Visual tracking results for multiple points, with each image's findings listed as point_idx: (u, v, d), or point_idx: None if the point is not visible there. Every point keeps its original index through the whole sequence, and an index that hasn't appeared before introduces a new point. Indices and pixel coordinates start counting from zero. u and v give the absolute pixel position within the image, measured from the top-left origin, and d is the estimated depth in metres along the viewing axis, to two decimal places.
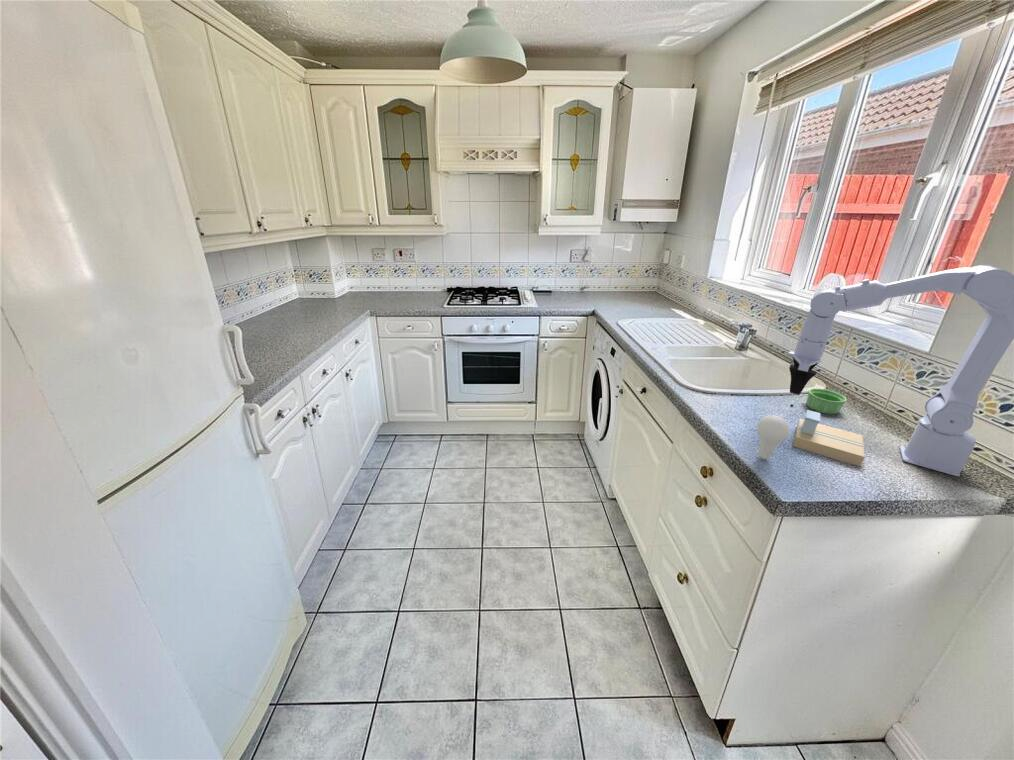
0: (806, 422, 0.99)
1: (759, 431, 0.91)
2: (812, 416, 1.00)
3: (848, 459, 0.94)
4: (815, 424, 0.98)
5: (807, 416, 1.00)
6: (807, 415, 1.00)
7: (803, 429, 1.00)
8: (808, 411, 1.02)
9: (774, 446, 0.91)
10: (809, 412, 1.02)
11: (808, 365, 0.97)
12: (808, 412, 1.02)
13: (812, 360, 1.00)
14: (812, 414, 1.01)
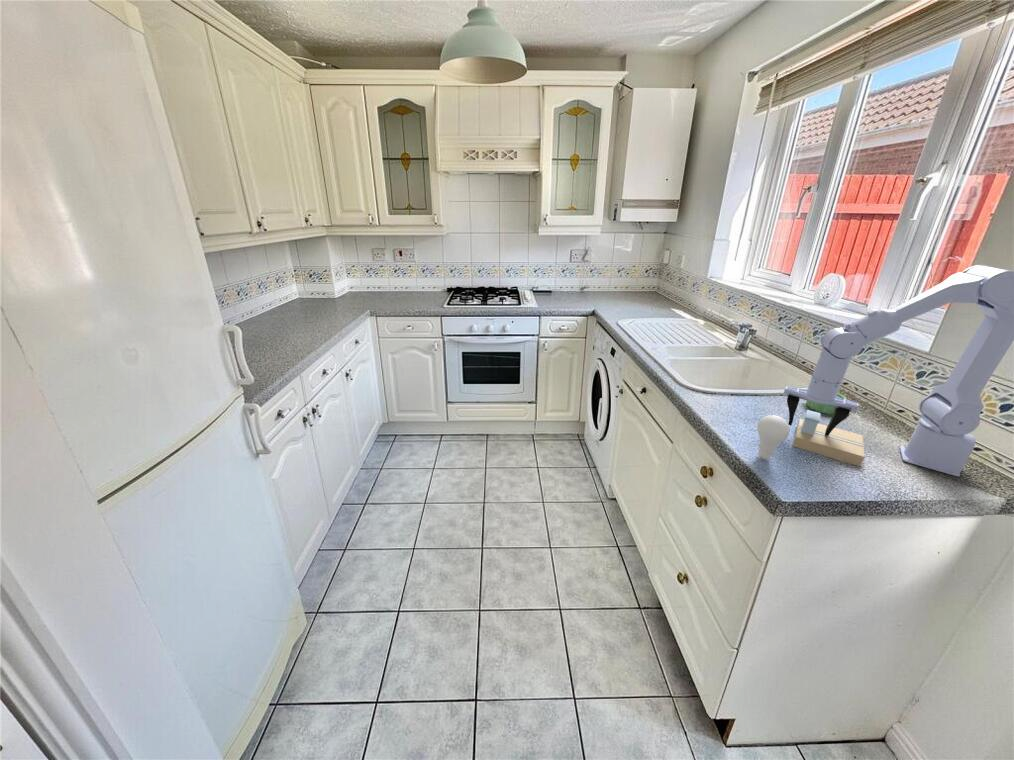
0: (806, 422, 0.99)
1: (759, 431, 0.91)
2: (812, 416, 1.00)
3: (848, 459, 0.94)
4: (815, 424, 0.98)
5: (807, 416, 1.00)
6: (807, 415, 1.00)
7: (803, 429, 1.00)
8: (808, 411, 1.02)
9: (774, 446, 0.91)
10: (809, 412, 1.02)
11: None
12: (808, 412, 1.02)
13: (806, 394, 0.99)
14: (812, 414, 1.01)
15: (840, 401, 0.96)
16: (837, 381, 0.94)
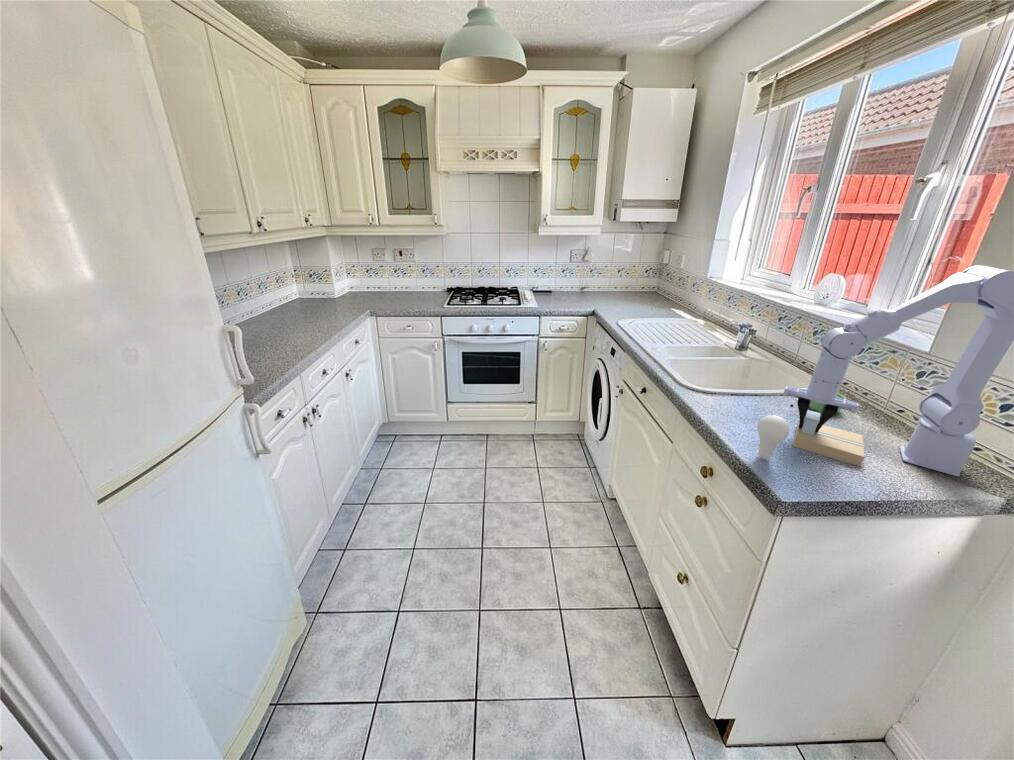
0: (806, 422, 0.99)
1: (759, 431, 0.91)
2: (812, 416, 1.00)
3: (848, 459, 0.94)
4: (815, 424, 0.98)
5: (807, 416, 1.00)
6: (807, 415, 1.00)
7: (803, 429, 1.00)
8: (808, 411, 1.02)
9: (774, 446, 0.91)
10: (809, 412, 1.02)
11: None
12: (808, 412, 1.02)
13: (806, 394, 0.99)
14: (812, 414, 1.01)
15: (840, 401, 0.96)
16: (837, 381, 0.94)
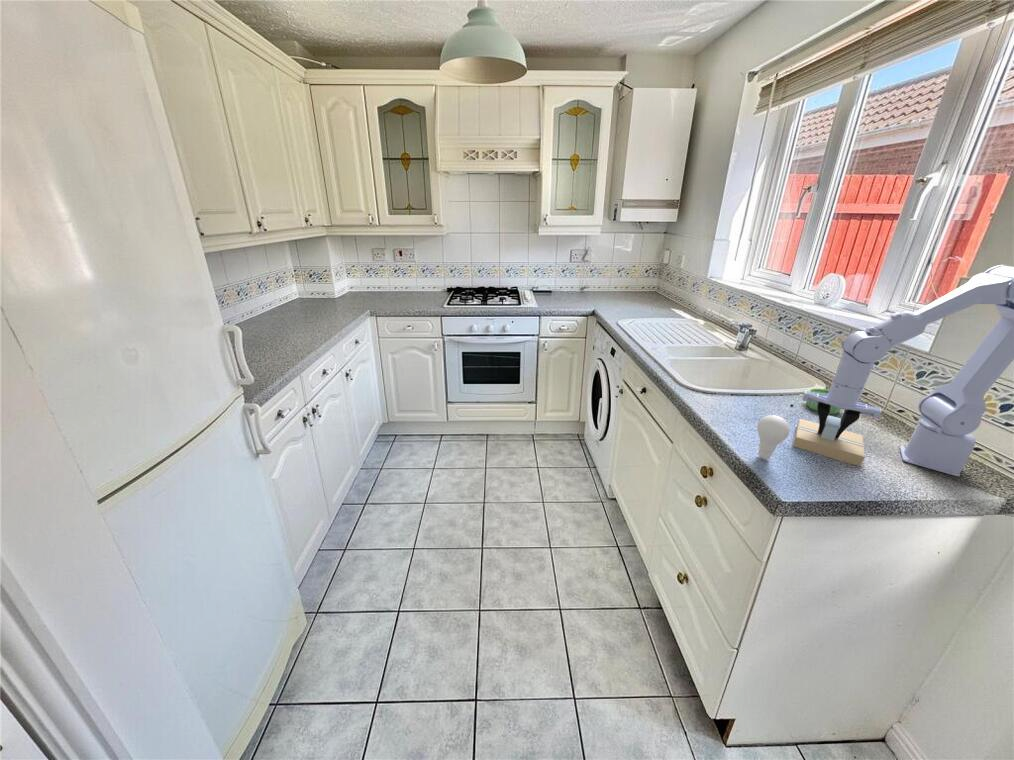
0: (826, 427, 0.97)
1: (759, 431, 0.91)
2: (832, 421, 0.97)
3: (848, 459, 0.94)
4: (836, 430, 0.96)
5: (827, 421, 0.97)
6: (827, 420, 0.98)
7: (823, 435, 0.98)
8: (828, 416, 1.00)
9: (774, 446, 0.91)
10: (829, 417, 0.99)
11: (804, 394, 0.99)
12: (828, 417, 0.99)
13: (826, 399, 0.97)
14: (832, 419, 0.98)
15: (862, 406, 0.94)
16: (860, 386, 0.91)
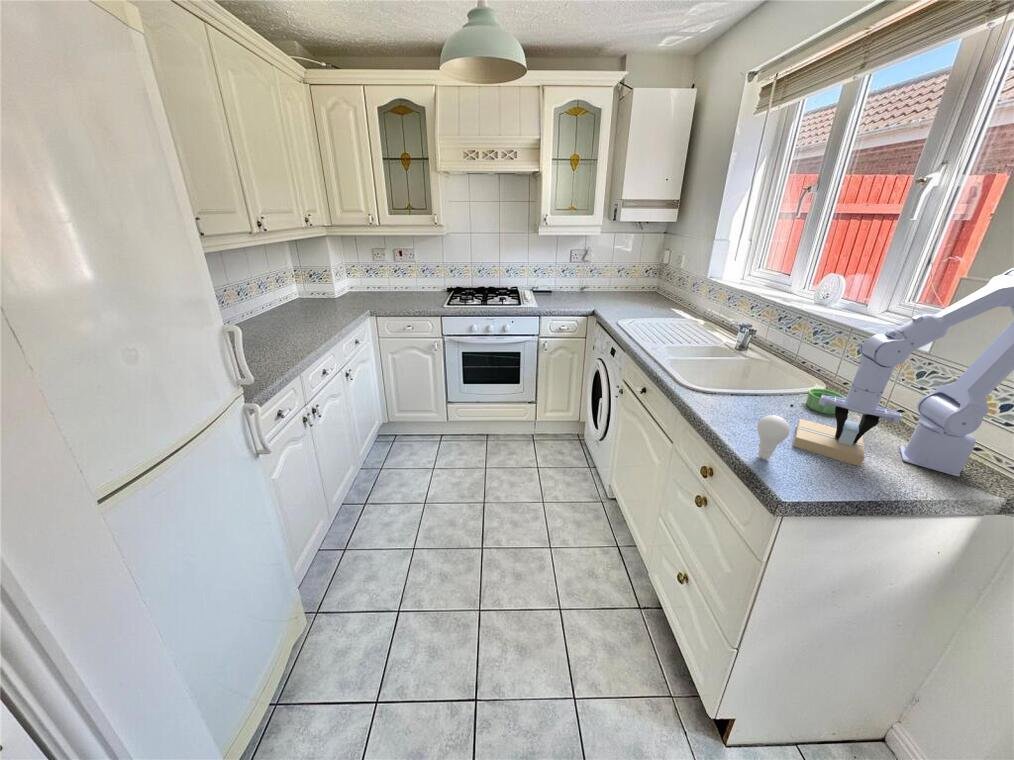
0: (844, 432, 0.95)
1: (759, 431, 0.91)
2: (850, 426, 0.96)
3: (848, 459, 0.94)
4: (854, 435, 0.94)
5: (845, 426, 0.96)
6: (845, 425, 0.96)
7: (841, 440, 0.96)
8: None
9: (774, 446, 0.91)
10: (846, 422, 0.98)
11: (821, 398, 0.98)
12: (845, 422, 0.98)
13: (844, 404, 0.95)
14: (849, 424, 0.97)
15: (881, 411, 0.92)
16: (881, 390, 0.89)
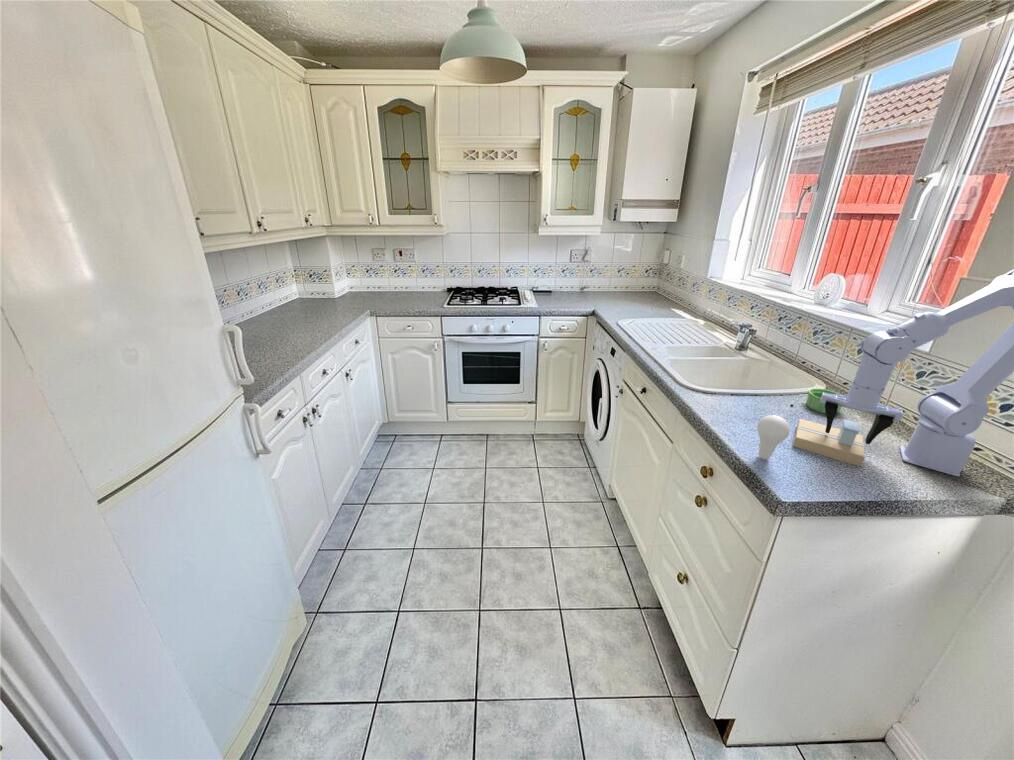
0: (844, 432, 0.95)
1: (759, 431, 0.91)
2: (850, 426, 0.96)
3: (848, 459, 0.94)
4: (854, 435, 0.94)
5: (845, 426, 0.96)
6: (845, 425, 0.96)
7: (841, 440, 0.96)
8: (845, 421, 0.98)
9: (774, 446, 0.91)
10: (846, 422, 0.98)
11: (822, 395, 0.97)
12: (845, 422, 0.98)
13: (846, 401, 0.94)
14: (849, 424, 0.97)
15: (883, 408, 0.92)
16: (882, 387, 0.89)
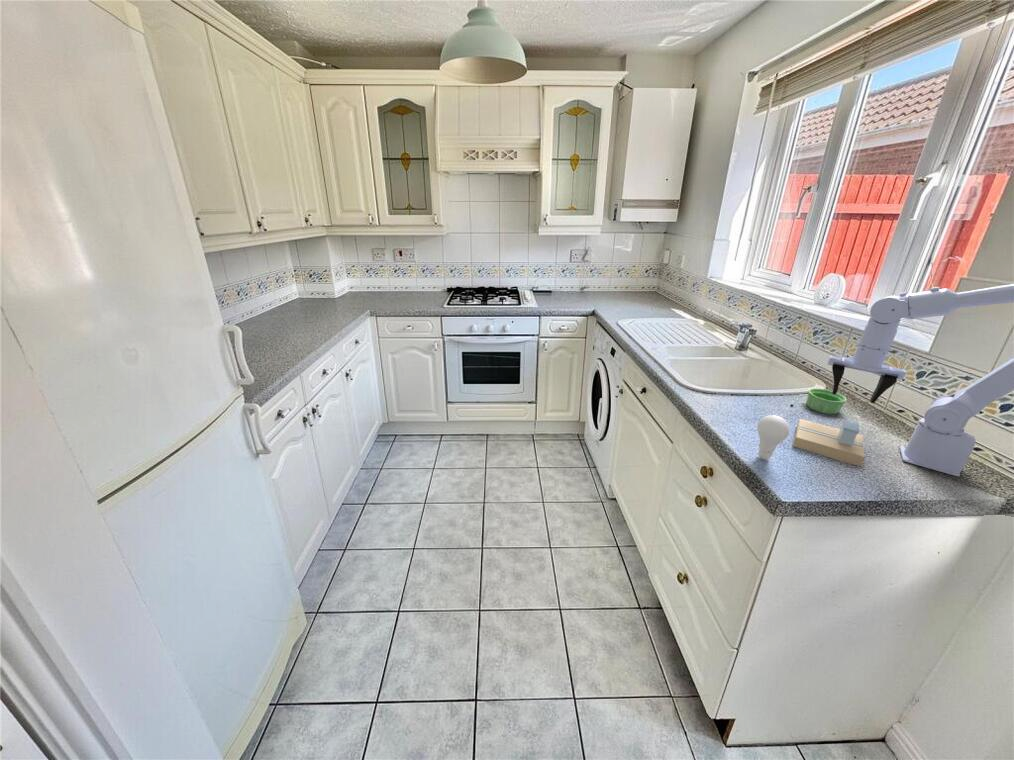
0: (844, 432, 0.95)
1: (759, 431, 0.91)
2: (850, 426, 0.96)
3: (848, 459, 0.94)
4: (854, 435, 0.94)
5: (845, 426, 0.96)
6: (845, 425, 0.96)
7: (841, 440, 0.96)
8: (845, 421, 0.98)
9: (774, 446, 0.91)
10: (846, 422, 0.98)
11: (829, 358, 1.03)
12: (845, 422, 0.98)
13: (852, 363, 1.00)
14: (849, 424, 0.97)
15: (887, 368, 0.97)
16: (878, 347, 0.95)
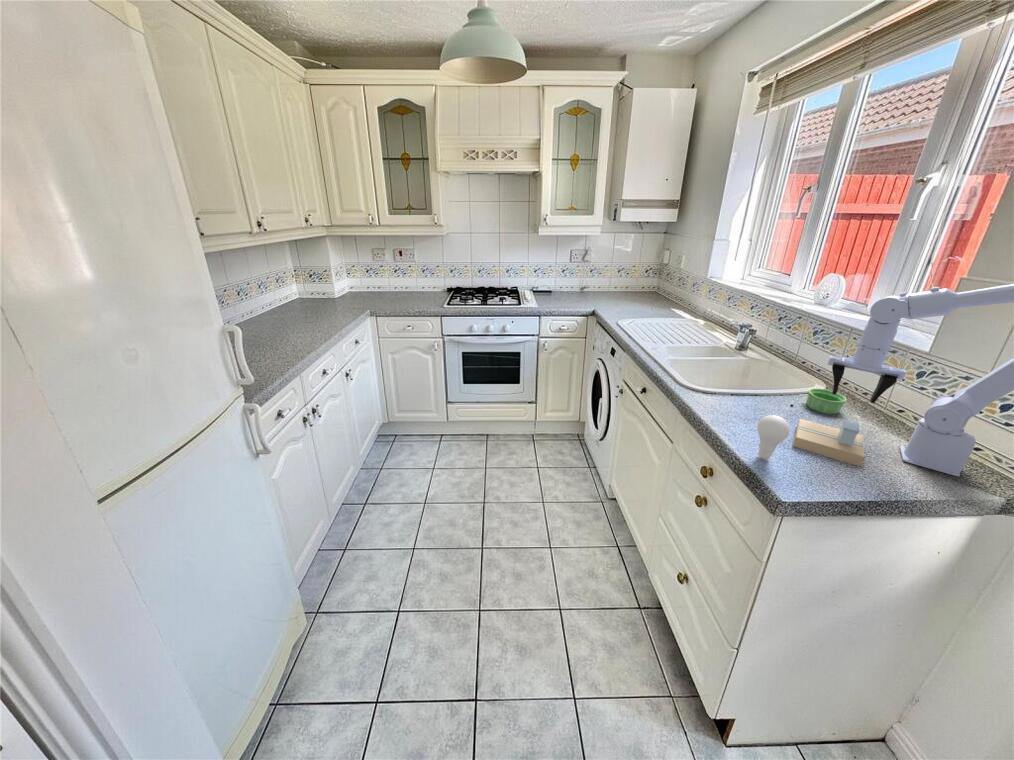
0: (844, 432, 0.95)
1: (759, 431, 0.91)
2: (850, 426, 0.96)
3: (848, 459, 0.94)
4: (854, 435, 0.94)
5: (845, 426, 0.96)
6: (845, 425, 0.96)
7: (841, 440, 0.96)
8: (845, 421, 0.98)
9: (774, 446, 0.91)
10: (846, 422, 0.98)
11: (829, 358, 1.03)
12: (845, 422, 0.98)
13: (852, 363, 1.00)
14: (849, 424, 0.97)
15: (887, 368, 0.97)
16: (878, 347, 0.95)
